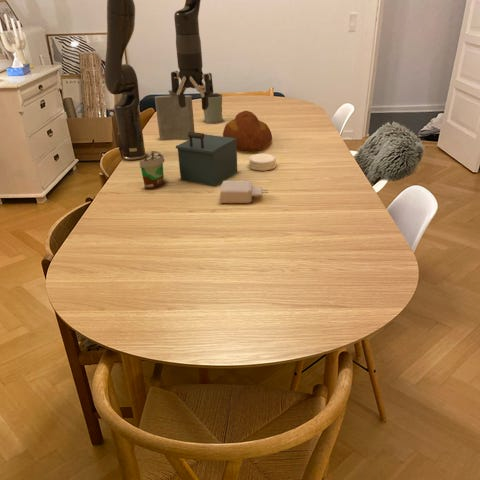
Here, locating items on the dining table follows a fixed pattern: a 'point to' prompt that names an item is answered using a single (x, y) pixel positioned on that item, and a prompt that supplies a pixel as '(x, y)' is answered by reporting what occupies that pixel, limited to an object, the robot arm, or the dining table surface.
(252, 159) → the white round disc
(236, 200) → the charger
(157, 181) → the food container
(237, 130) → the bread
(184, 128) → the hip flask
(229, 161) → the cool chest
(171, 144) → the dining table surface
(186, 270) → the dining table surface
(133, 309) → the dining table surface
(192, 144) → the lid
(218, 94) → the grey green cylindrical pot
